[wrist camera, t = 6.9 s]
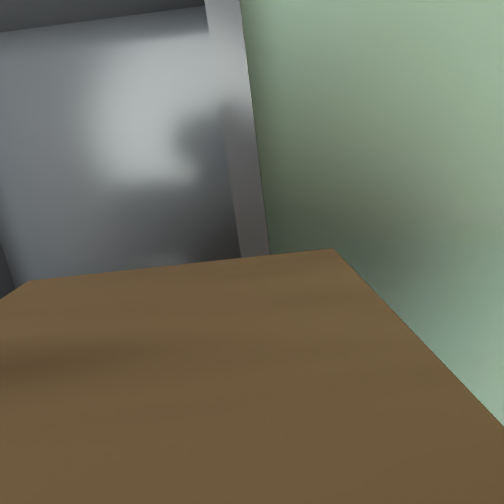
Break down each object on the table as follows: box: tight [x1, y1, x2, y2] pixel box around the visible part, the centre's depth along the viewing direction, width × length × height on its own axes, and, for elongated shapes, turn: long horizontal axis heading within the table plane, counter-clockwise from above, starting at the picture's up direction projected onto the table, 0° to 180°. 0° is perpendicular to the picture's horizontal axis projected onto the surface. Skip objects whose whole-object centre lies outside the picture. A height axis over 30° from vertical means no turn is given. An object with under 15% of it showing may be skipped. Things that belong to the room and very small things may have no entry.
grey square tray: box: [0, 0, 270, 299], centre depth 14 cm, size 12×12×4 cm
